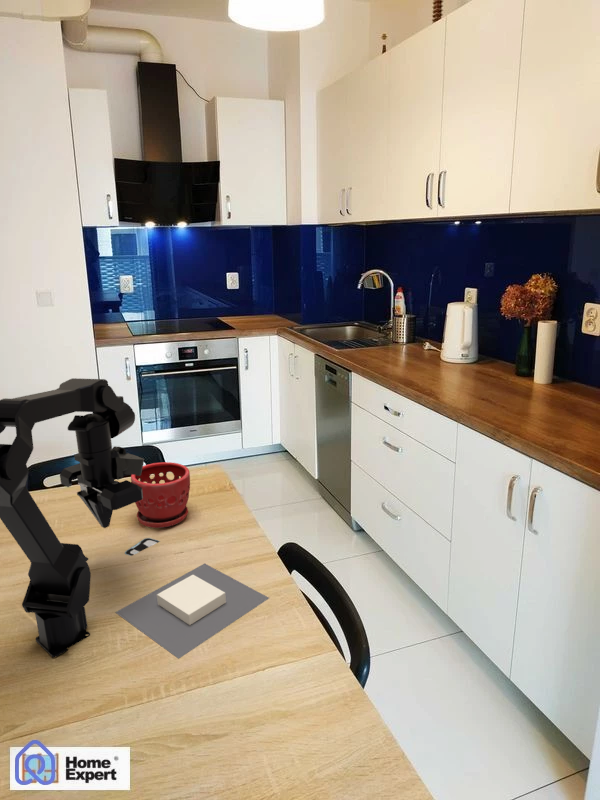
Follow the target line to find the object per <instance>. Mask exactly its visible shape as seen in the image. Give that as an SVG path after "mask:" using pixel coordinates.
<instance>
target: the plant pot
mask: <svg viewBox="0 0 600 800" xmlns="http://www.w3.org/2000/svg"><path fill="white" fill-rule="evenodd" d="M169 472H170V473H172V474H173V478H172V479H170V478H168V476H167V474H168V473H169ZM190 472H191V471H190V469H189V468H188V467H187V466H186V465H183V464H181V463H177V462H169V461H167V462H165V461H164V462H153V463H150V464H145V465H143V468H142V473H141V475H140V476H136V475H132V474H130V482H132V483H134V484H136V485H138V486H140V487H141V488H142V492H143V499H142V500H140V501H137V502H135V503H134V504H135V506H136V507H137V509H138V511H137V512H136V519H137V520H138V521H139V523H140V524H141V525H142V526H145V527H149V528H153V529H159V528H161V529H162V528H163V529H164V528H168V527H173V526H175V525H177V524H179V523H181V522H182V521H184V519H185V518H186V517H187V516H188V513H189V509H188V506H187V504H188V501H189V497H190V489H191V473H190ZM161 473H162V474H163V475H161V476H160V474H161ZM151 475H153V476H154V477H152V478H151ZM161 481H163V482H161ZM153 482H155V483H153ZM160 482H161V483H160Z"/></svg>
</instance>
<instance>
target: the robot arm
mask: <svg viewBox="0 0 600 800" xmlns="http://www.w3.org/2000/svg"><path fill="white" fill-rule="evenodd" d="M108 383H109V382H108V380H107V379H105V378H77V377H76V378H70V379H68V380H65V381H63V382H62V383H60V384H59V387H58V388H56V389H52V390H46V391H42V392H38V393H32V394H28V395H23V396H17V397H13V398H2V399H0V434H1V433H3V432H4V431H5V429H6V427H10V428H15V433H16V436H15V438H14V440H13V441H12V444H10V443H9V444H8V443H0V521H1V522H2V524H3V525H4V526H5V528H6V529H7V531H8V532H9V534H10V535H11V536H12V538H14V540H15V542H16V543H17V544H18V546H19V548H20V549H21V551H22V552H23V554H25V556H26V558H28V561H29V562H30V566H29V569H28V573H27V576H28V578H29V583H28V586H27V588H26V591H25V594H24V597H23V601H22V603H21V607H22V608H23V610H24V611H25V613H27V614H30V613H32V614H33V613H34V616H35V621H36V625H37V631H38V636H36V637H35V642H36V643H37V644H38V645H39V646H40V647H41V648H42V649H43V650H44V651H46V653H47V654H49V655H50V656H51V657H52V658H56V657H58V656H60V655H62V654H63V653H66V652H68V651H69V648H71V647H73V646H74V645H76V644H78V643H80V642H82V641H83V640H85V639H87V638H88V637H90V636H91V632H89V631H88V630H87V629H88V626H89V625H88V622H87V614H86V613H87V612H86V607H85V606H86V605H87V604H88V603H89V602H90V592H91V591H90V590H91V570H90V567H89V564H88V561H89V557H87V556H86V555H85V554H84V551H83V549H82V547H81V546H80V544H75V543H65V542H64V543H63V542H61V541H60V540H59V538H58V537H57V536H58V535H57V534H56V533H55V532H54V530H53V529H52V527H51V525H50V523H49V522H48V520H47V519H46V516H45V515H44V514H43V513H42V510H41V509H40V507H39V506H38V504H37V502H36V501H35V499H34V498H33V496H32V495H31V493H30V491H29V490H28V488H27V486H26V484H27V481H28V477H29V468H28V465H27V463H28V461H29V459H30V457H31V455H32V453H33V451H34V440H33V428H34V426H35V425H36V424H37V423H41V422H44V421H46V420H47V421H48V420H51V419H55V418H59V417H62V416H66V415H68V414H73V413H76V412H77V413H82V412H83V413H87V414H84V415H77V414H76V415H74V417H73V419H72V420H71V422H69V424H68V426H67V431H69V432H70V431H71V432H72V431H73V432H75V437H76V439H75V440H76V445H77V451H78V453H76V454H73V456H74V457H73V458H74V461H77V462H79V463H77V464H73V465H71V466H70V465H69V466H68V467H65V468H63V469H62V471H61V472H60V473H59V478H60V484H61V485H63V486H64V487H67V488H69V487H72V484H73V481H74V480H77V484H78V485H79V487H80V490H79V491H77V492H76V495H77V496H78V497H79V498H80V500H81V501H82V502H83V504H85V506H86V507H87V508H88V510H89V511H90V512H91V514H92V515H93V517H94V518H95V520H96V521H97V522H98V524H99V525H100V527H102V528H103V529H106V528H108V527H110V525H111V521H112V516H113V515H112V514H113V511H117V510H120V509H123V508H124V507H127V506H130V505H132V504H135V502H137V501H140V500H142V499H143V492H142V488H141V487H140V486H138V485H136V484H134V483H132V482H131V481H129V480H126V479H125V480H123V481H119V480H120V479H124V475H136V476H140V475H141V473H142V468H143V466H144V461H145V458H143V457H141V456H138V455H135V454H131V453H129V452H127V451H126V449H125V448H124V447H121V446H113V445H112V444H113V443H112V439H114V438H116V437H118V436H120V435H121V434H122V433H124V432H125V431H127V430H128V429H130V428H131V427H132V426H133V425H134V423H135V420H136V414H135V413H136V412H134V410H133V408H132V407H131V406H130V405H129V404H128V403H127V402H125V400H124V396H120V395H119V396H118V395H117V394H116V393H115V391H114V389H113V388H112V387H111V386H110V385H109V384H108Z"/></svg>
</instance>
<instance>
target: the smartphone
mask: <svg viewBox="0 0 600 800" xmlns="http://www.w3.org/2000/svg"><path fill="white" fill-rule="evenodd" d="M160 542H161V541H160V540H157V539H154V538H152V537H146V538H143V539H141V540H140V541H139V542H138V543H136V544H134V545H133V546H131V547H130V548H128V549H127V550H125V551H124V554H125V555H126V556H128V557H132V556H135V555H137V554H139V553H140V552H143V551H144V550H146V549H148V548H151V547H153V546H154V545H156V544H158V543H160Z"/></svg>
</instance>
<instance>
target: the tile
mask: <svg viewBox="0 0 600 800" xmlns="http://www.w3.org/2000/svg"><path fill="white" fill-rule="evenodd" d="M157 600H158V605H160V606H161V607H163V608H164V609H166V610H167V611H169V612H170V613H172V614H173V615H175V616H177V617H178V618H180V619H181V620H183V621H184V622H186V623H187V624H189V625H191V624H193V623H194V622H196V621H197V620H199V619H201V618H202V617H204V616H205V615H207V614H209V613H210V612H212V611H213V610H215V609H216V608H218V607H220V606H221V605H223V604H224V603H226V596H225V592H223V591H221V590H220V589H218V588H216V587H214V586H212V585H211V584H209V583H207V582H205V581H204V580H202V579H200V578H198V577H196V576H195V575H191V576H189V577H188V578H186V579H184V580H182V581H180V582H179V583H177V584H175V585H173V586H171V587H170V588H168V589H166V590H164V591H162V592H161V593H159V594H157Z"/></svg>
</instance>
